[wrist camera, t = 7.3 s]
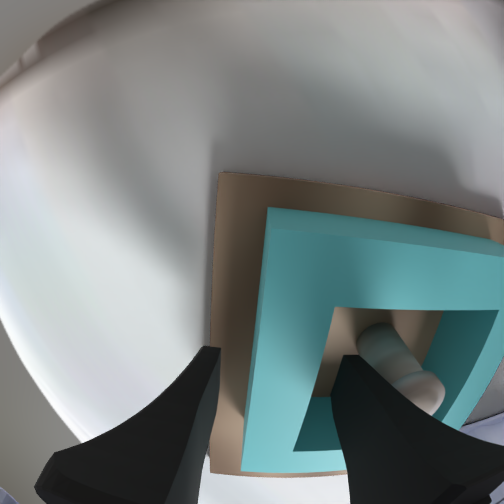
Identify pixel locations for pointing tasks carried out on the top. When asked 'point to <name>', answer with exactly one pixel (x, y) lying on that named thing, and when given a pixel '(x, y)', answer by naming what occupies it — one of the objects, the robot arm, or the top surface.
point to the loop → (361, 296)
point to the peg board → (344, 318)
